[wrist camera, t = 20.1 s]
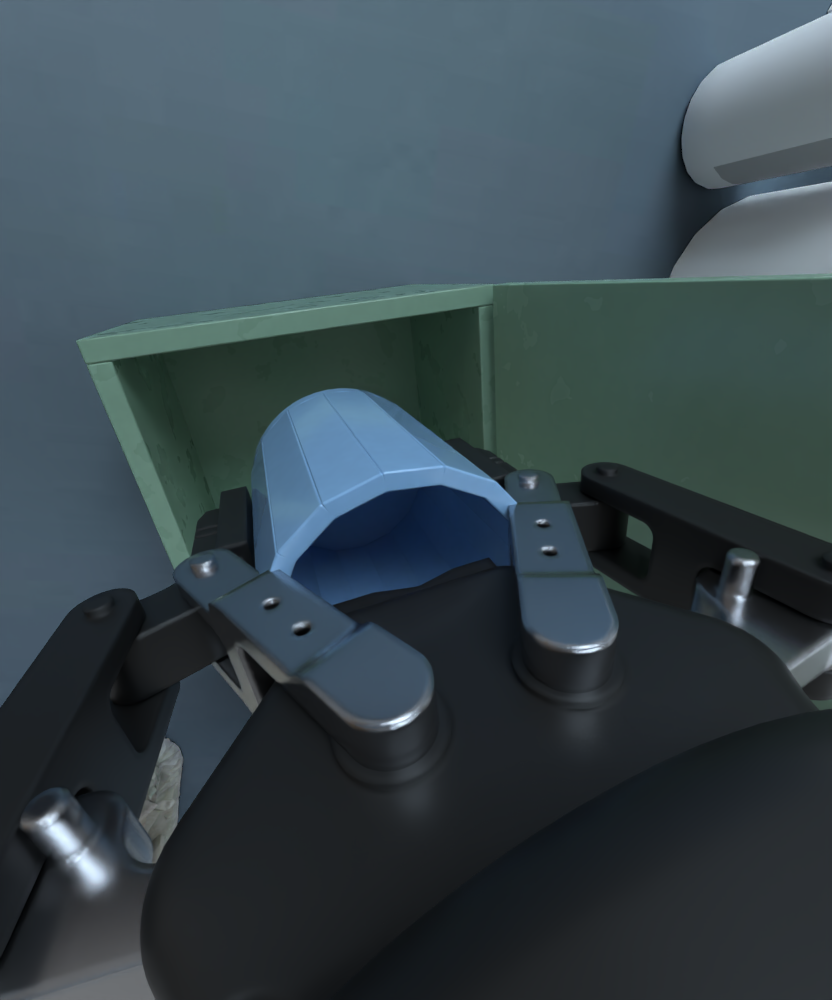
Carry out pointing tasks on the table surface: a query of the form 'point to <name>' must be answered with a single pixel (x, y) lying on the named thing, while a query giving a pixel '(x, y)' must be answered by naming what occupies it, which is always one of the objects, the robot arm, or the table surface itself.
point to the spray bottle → (764, 111)
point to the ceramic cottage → (163, 797)
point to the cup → (368, 499)
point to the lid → (675, 388)
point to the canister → (765, 236)
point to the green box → (283, 382)
